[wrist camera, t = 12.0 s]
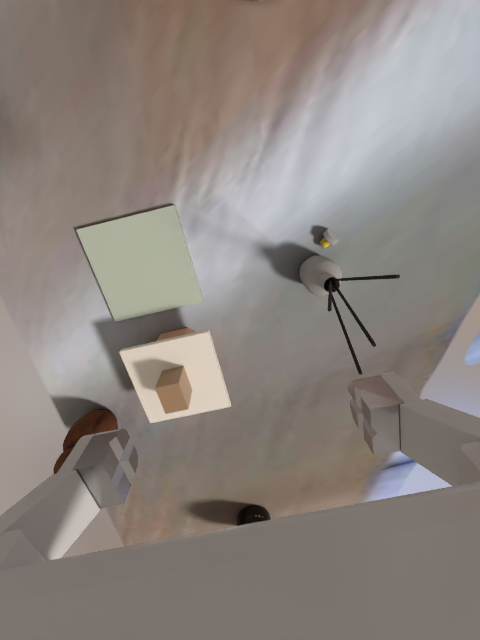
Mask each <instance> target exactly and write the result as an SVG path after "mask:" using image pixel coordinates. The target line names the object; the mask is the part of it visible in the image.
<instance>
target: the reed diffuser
mask: <svg viewBox="0 0 480 640" xmlns="http://www.w3.org/2000/svg"><path fill="white" fill-rule="evenodd" d="M323 235H324V238H323V239H322V240H321V241H320V244H321V246H322V247H324V248H326V247H327V246H328V245H329V244H332V245H335V244H336V243H337V242H339V238H338V237H337V235H336V234H335V233H334V232H333V231H332V230H330V229H327V230H326V231H325V232H324V233H323ZM399 277H400V275H384V276H369V277H354V278H342V272H341V269H340V267H339V266H338V265H337V264H336V263H335V262H334V261H332V260H331V259H328V258H326V257H323V256H312V257H310V258H308V259H307V260H305V261H304V263H303V264H302V266H301V268H300V279H301V281H302V283H303V284H304V286H305V287H306V288H307V290H308V291H309V292H311V293H312V294H314V295H317V296H326V295H329V297H328V311H331V304H332V302H333V305H334V308H335V310H336V313H337V316H338V318H339V321H340V324H341V326H342V329H343V332H344V335H345V337H346V340H347V343H348V345H349V348H350V351H351V354H352V356H353V359H354V362H355V364H356V367H357V370H358V373H359V374H360V375H361V374H362V371H361V368H360V366H359V363H358V360H357V358H356V355H355V353H354V350H353V347H352V345H351V342H350V340H349V337H348V334H347V332H346V329H345V326H344V324H343V321H342V319H341V316H340V313H339V311H338V308H337V306H336V303H335V300H334V298H333V295H332V293H333V292H335V291H337V292H338V293H339V295H340V296H341V298H342V299H343V301H344V303H345V304H346V306H347V307H348V309H349V310H350V312H351V313H352V315H353V316H354V318H355V320H356V321H357V323H358V324H359V326H360V327H361V329H362V330H363V332H364V333H365V335H366V336H367V338H368V340H369V341H370V343H371V344H372V346H373V347H375V346H376V344H375V342H374V341H373V339H372V338H371V336H370V335H369V333H368V332H367V330H366V329H365V327H364V326H363V324H362V323H361V321H360V320H359V318H358V317H357V315H356V314H355V312H354V311H353V310H352V308H351V307H350V305H349V304H348V302H347V301H346V299H345V298H344V296H343V295H342V293H341V292H340V290H339V289H338V288H339V286H340V283H341V281H348V280H371V279H394V278H399Z"/></svg>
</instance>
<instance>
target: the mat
mask: <svg viewBox="0 0 480 640" xmlns="http://www.w3.org/2000/svg"><path fill="white" fill-rule="evenodd" d="M76 231H77V233H78V236H79V238H80V240H81V243H82V245H83V247H84V250H85V252H86V254H87V257H88V259H89V261H90V264H91V266H92V268H93V271H94V273H95V275H96V278H97V280H98V282H99V285H100V287H101V289H102V292H103V294H104V297H105V299H106V301H107V304H108V306H109V308H110V311H111V313H112V315H113V318H114V320H115V322H117V321H122V320H126V319H130V318H135V317H139V316H143V315H148V314H152V313H156V312H161V311H165V310H169V309H174V308H178V307H183V306H187V305H191V304H196V303H200V302H203V298H202V294H201V291H200V288H199V284H198V281H197V277H196V274H195V270H194V267H193V264H192V260H191V257H190V253H189V250H188V247H187V243H186V240H185V236H184V233H183V230H182V226H181V223H180V219H179V216H178V212H177V209H176V206H175V205H172V206H168V207H164V208H160V209H156V210H153V211H149V212H145V213H141V214H137V215H133V216H129V217H125V218H121V219H117V220H113V221H109V222H105V223H101V224H97V225H93V226H89V227H85V228H81V229H77V230H76Z"/></svg>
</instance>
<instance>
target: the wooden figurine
mask: <svg viewBox="0 0 480 640" xmlns="http://www.w3.org/2000/svg"><path fill="white" fill-rule="evenodd" d="M117 429H118V425H117V419H116V417H115V415H114V414H113V413H111V412H110V411H107V410H94V411H92V412H90V413H88V414H86V415H85V416H84V417H82V418H81V419H79V420H78V421H77V422H76V423H75V424H74V425H73V426H72V427H71V429H70V430H69V432H68V434H67V436H66V438H65V440H64V443H63V453H62V454H61V455H60V457H59V458H58V460H57V461H56V464H55V466H54V474H57V472H58V471H59V469H60V468H61V466H62V465H63V463H64V462H65V460H66V459H67V457H68V456H69V454H70V453H71V451H72V450H73V448H74V447H75V445H76V444H77V442H78V441H79V439H80V438H81V437H83V436H86V435H91V434H97V433H101V432H106V431H112V430H117Z"/></svg>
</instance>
